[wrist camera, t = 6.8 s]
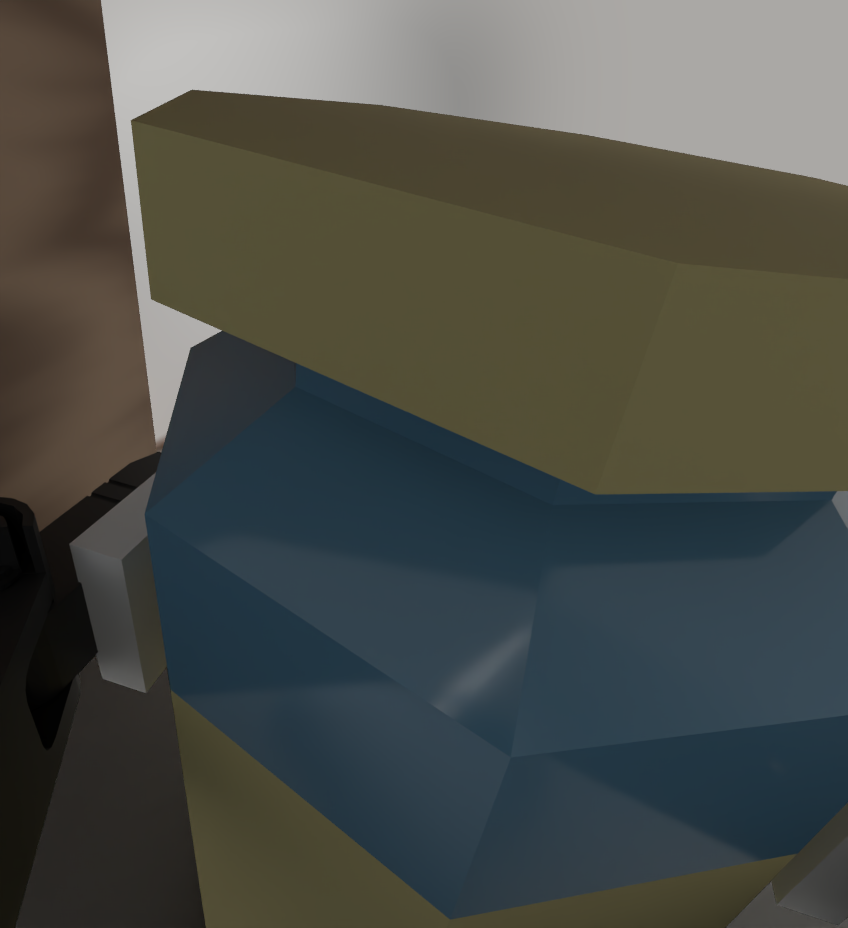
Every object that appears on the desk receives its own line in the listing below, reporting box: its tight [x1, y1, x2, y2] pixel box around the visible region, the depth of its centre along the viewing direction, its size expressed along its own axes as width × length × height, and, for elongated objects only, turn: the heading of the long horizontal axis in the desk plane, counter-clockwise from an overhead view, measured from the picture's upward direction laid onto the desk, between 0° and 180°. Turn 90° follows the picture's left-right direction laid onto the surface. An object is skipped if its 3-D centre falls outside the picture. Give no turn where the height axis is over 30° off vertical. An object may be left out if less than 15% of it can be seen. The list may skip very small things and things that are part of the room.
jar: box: [131, 90, 848, 928], centre depth 10 cm, size 9×9×15 cm
